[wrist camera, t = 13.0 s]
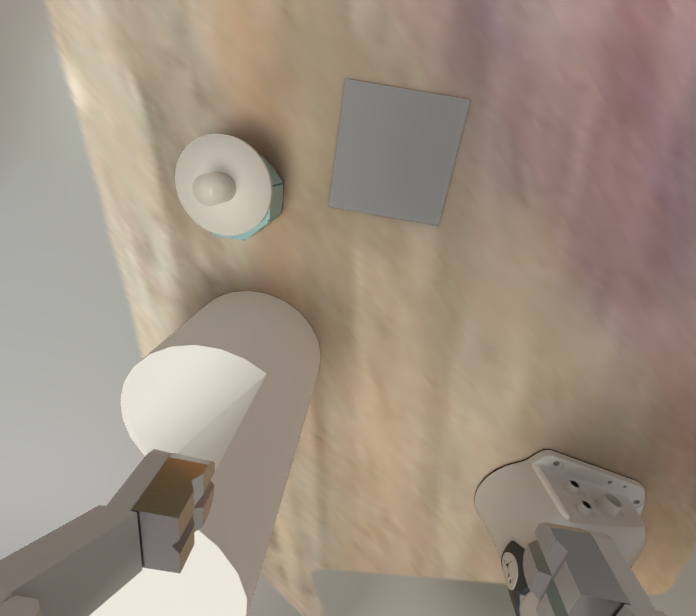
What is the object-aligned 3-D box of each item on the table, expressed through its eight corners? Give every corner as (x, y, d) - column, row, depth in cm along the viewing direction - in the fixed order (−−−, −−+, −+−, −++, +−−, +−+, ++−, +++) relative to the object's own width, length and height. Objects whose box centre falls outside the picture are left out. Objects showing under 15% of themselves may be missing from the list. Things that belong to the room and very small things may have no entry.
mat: (469, 100, 35) (470, 99, 35) (438, 225, 40) (438, 226, 39) (345, 79, 35) (345, 78, 35) (328, 206, 40) (328, 206, 40)
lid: (277, 144, 33) (263, 143, 29) (268, 241, 37) (255, 251, 33) (180, 125, 33) (153, 121, 29) (180, 224, 37) (157, 232, 33)
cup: (286, 159, 38) (273, 159, 34) (280, 234, 42) (267, 244, 37) (211, 146, 38) (188, 145, 34) (210, 222, 42) (189, 231, 37)
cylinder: (348, 358, 47) (307, 605, 21) (262, 428, 53) (147, 691, 27) (245, 261, 43) (43, 419, 17) (164, 348, 49) (-79, 565, 23)
